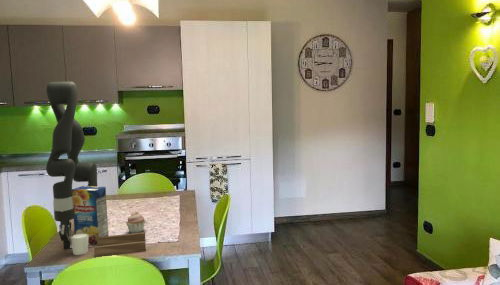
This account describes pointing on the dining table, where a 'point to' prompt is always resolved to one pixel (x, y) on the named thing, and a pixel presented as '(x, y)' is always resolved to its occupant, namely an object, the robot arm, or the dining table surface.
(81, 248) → the white tapered cylinder
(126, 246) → the walnut channel
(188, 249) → the dining table surface
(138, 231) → the cupcake
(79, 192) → the juice carton
